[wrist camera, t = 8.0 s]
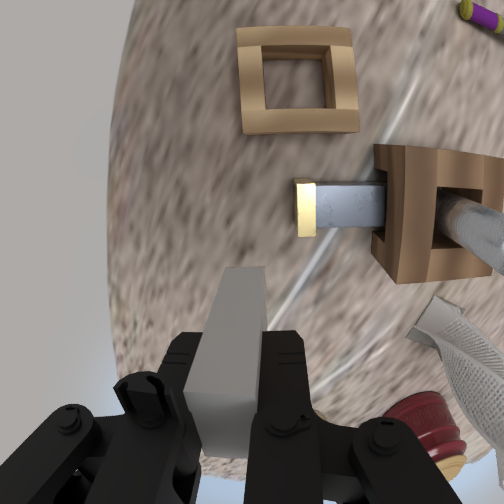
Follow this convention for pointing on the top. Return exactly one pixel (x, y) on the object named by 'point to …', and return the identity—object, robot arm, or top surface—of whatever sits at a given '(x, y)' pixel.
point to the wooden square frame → (298, 48)
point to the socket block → (431, 211)
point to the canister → (433, 430)
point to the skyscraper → (468, 369)
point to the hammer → (482, 16)
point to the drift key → (338, 205)
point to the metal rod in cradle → (471, 227)
